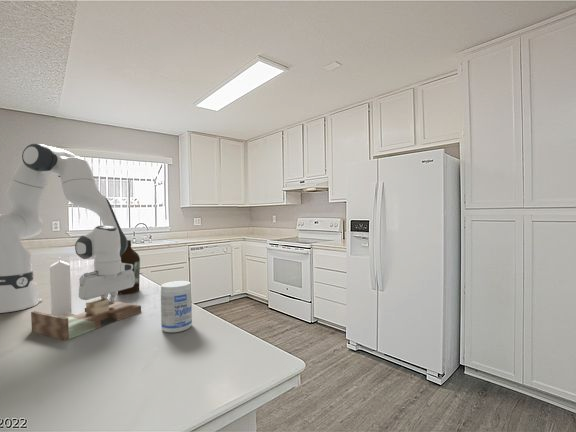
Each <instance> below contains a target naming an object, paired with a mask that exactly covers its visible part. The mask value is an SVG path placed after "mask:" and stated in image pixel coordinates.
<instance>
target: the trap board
mask: <svg viewBox="0 0 576 432" xmlns="http://www.w3.org/2000/svg"><path fill="white" fill-rule="evenodd" d="M141 312H142V305H141V304H133V303H128V302H122V301H116V300H114V304H112V305H109V311H106V312H103V313H100V314H97V315H93V314H87V313H86V307H85V308H84V312H82V313H78V314H73V313H72V314H69V313H67V314H64V315H60V316H56V315H52V313H51V314H50V313H45V312H42V311H35V310H33V311H31V312H30V316H31V317H30V319H31V320H30V322H31V332H32V333H36V334H38V335H43V336H47V337H51V338H54V339H55V338H56V339H58V340H62V341H68V340H70V339H74V338H76V337H78V336H80V335H84V334H86V333H89V332H92V331H94V330H96V329H100V328H102V327H105V326H108V325H110V324H112V323H116V322H117V321H120V320H124V319H126V318H128V317H130V316H134V315H136V314H139V313H141Z"/></svg>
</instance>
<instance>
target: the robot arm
mask: <svg viewBox="0 0 576 432" xmlns="http://www.w3.org/2000/svg"><path fill="white" fill-rule="evenodd" d="M21 158H22V159H21V160H20V162H19V164H18V166H17V167H16V168H15V170H14V173H13V175H12V176H11V179H10V181H9V185H8V187H7V190H6V192H5V197H4V198H5V199H6V201H7V202H9V205H10V206H9V207H10V208H9V209H10V210H9V213H0V314H2V313H4V314H5V313H10V312H16V311H17V312H18V311H21V310H25V309H29V308H31V307H36V306H37V305H38V304H39V303H41V302H43V298H39V296H40V295H39V291H38V290H39V289H38V283H36V282H35V281H33V280H34V271H33V270H32V253H31V252H30V251H28V250H27V249H25V247H24V245H23V243H22V240H25V239H30V238H32V237H36V236H38V235H39V234H41V233H42V231H43V229H44V226H45V225H44V221H43V220H42V218H41V217H40V206H41V202H42V200H43V196H44V193H45V190H46V187H47V185H48V182H49V180H50V178H51V177H53V176H58V178H60V182H61V187H62V190H63V195H64V197H65V198H66V200H68V202H70V203H71V204H73V205H74V206H77V207H80V208H83V209H86V210H89V211H91V212H94V213H95V214H96V215H97V216H98V217H99V218H100V220H101V222H102V225H98V226H95V227H94V228H93V230H92V231H91V232H89V233H87V234H84V235H81V236H80V237H78V239H77V240H76V242H75V244H74V246H75V247H74V248H75V254H76V255H77V256H78V257H79V258H80V259H83V260H93V271H90V272H85V273H83V274H82V275H81V276H80V277H79V286H78V298H79V299H80V300H81V301H82V300H84V301H90V300H93V299H95V298H96V299H97V298H99V297H100V299H107V300H109V305H112V304H114V301H115V298H116V297H117V296H118V291H120V290H124V289H127V288H131V287H133V286H134V284H135V277H134V272H133V271H132V269H133V265H132V264H127V263H122V262H121V257H120V256H121V255H122V254H123V253H124V252H125V251H126V249H127V247H128V241H127V240H128V238H127V237H126V234H125V233H124V232H123V230H122V228H121V226H120V224H119V221H118V218H117V216H116V214H115V211H114V209H113V207H112V205H111V203H110V201H109V199H108V198H107V197H106V196H104V195H103V194H102V192H101V191H100V190H99V188H98V187H97V184H96V180H95V176H94V173H93V171H92V169H91V168H92V167H91V166H90V164H89V163H88V161H87V160H86V159H84V158H82V157H81V156H79V155H77V154H75V153H74V152H70V151H67V150H64V149H63V148H59V147H58V148H57V147H55V146H49V145H46V144H42V143H31V144H29V145H27V146H25V148H24V149H23V150H22V156H21ZM109 295H110V296H109ZM108 297H109V299H108Z"/></svg>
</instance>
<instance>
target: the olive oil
mask: <svg viewBox="0 0 576 432" xmlns="http://www.w3.org/2000/svg"><path fill="white" fill-rule="evenodd" d="M127 241H128V247H127V249H126V251H125V252H124V253H123V254H122V255H121V256H120V257H121V262H122V263H127V264H132V265H133V269H132V271H133V272H134V277H135V284H134V286H133V287H131V288H127V289H124V290H120V291H117V295H118V294H119V295H129V294H134V293H137V292H139V291H140V276H141V275H140V273H141V270H140V268H141V259H140V258H141V257H140V255H139V254H138V252H136V251H135V250H134V249H133V248H132V241H131V239H127Z"/></svg>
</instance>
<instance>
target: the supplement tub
mask: <svg viewBox="0 0 576 432" xmlns="http://www.w3.org/2000/svg"><path fill="white" fill-rule="evenodd" d="M192 300H193V299H192V283H191V281H188V280H174V281H168V282H165V283H162V284H161V285H160V312H161V313H160V314H161V315H160V318H161V319H160V321H161V330H162V331H163V332H165V333H169V334H170V333H173V334H174V333H180V332H183V331H186V330H188V329H190V328H191V326H192V324H193V312H192V311H193V310H192Z"/></svg>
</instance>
